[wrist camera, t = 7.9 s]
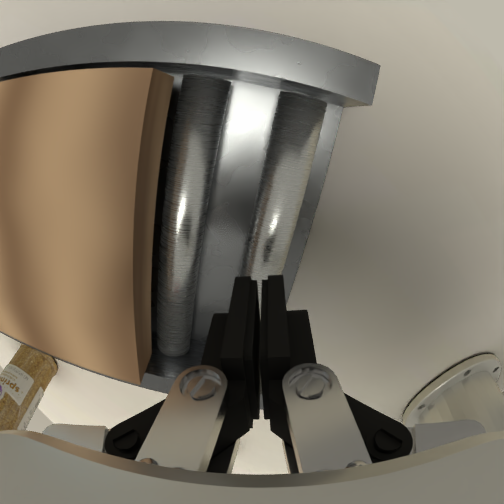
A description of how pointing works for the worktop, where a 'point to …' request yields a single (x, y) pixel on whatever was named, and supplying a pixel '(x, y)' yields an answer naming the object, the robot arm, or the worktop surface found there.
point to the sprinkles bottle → (23, 386)
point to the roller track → (219, 158)
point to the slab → (81, 213)
